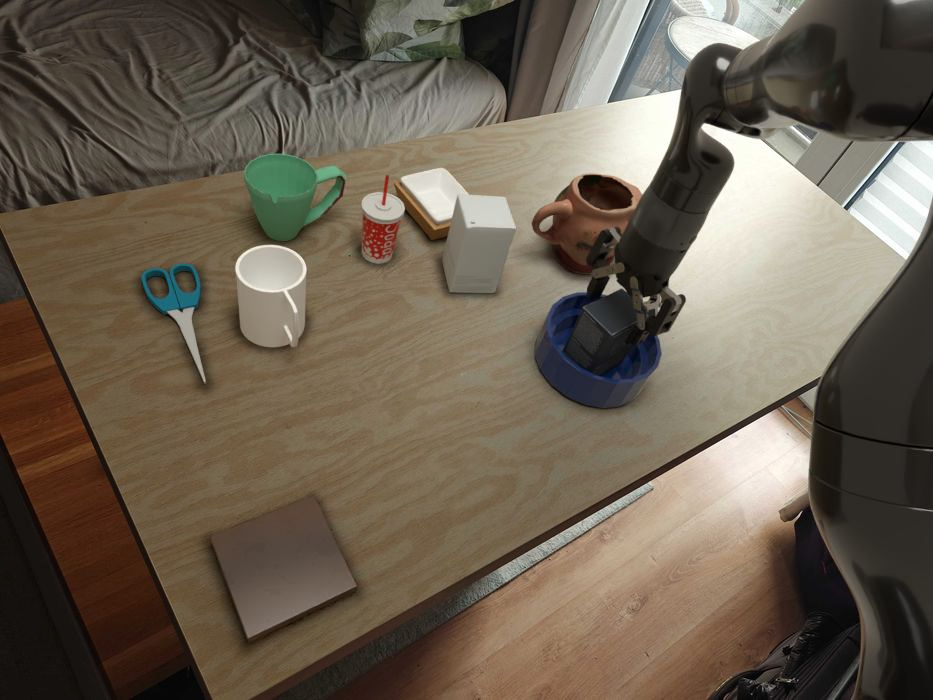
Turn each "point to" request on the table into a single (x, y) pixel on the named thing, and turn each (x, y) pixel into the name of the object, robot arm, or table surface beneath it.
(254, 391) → the table surface
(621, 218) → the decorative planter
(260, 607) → the board
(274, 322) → the cup
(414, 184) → the soap dish
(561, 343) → the bowl
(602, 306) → the box
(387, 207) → the beverage cup
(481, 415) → the table surface
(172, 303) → the scissors
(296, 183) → the mug
